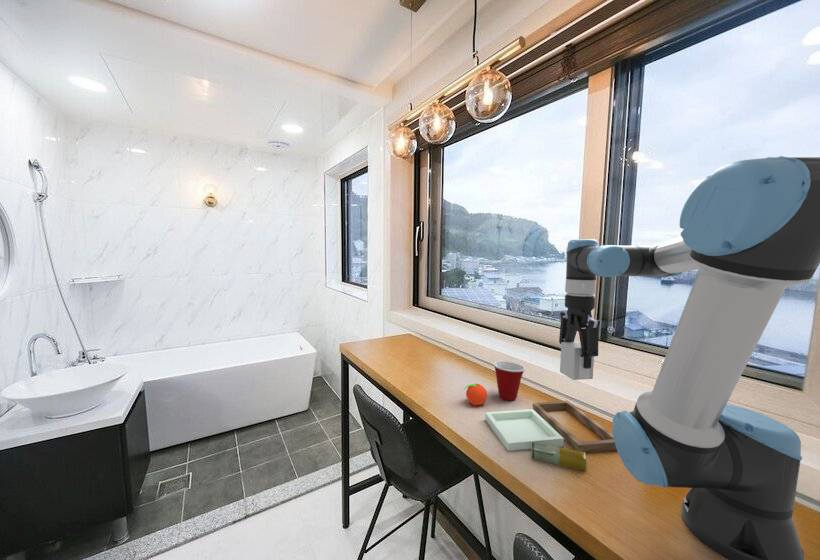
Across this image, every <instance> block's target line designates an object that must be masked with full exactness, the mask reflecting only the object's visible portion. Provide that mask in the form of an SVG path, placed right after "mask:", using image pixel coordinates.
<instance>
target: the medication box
mask: <svg viewBox="0 0 820 560" xmlns="http://www.w3.org/2000/svg"><path fill="white" fill-rule="evenodd" d="M530 454H531V458H532V459H533V460H538V461H542V462H544V463H545V462H546V463H549V464H550V463H551V464H554V465H557V466H563V467H566V468H571V469H575V470H579V471H584V472H586V470H587V455H586V453H585V452H581V451H576V450H575V449H569V448H565V447H563V448H560V447H554V446H549V445H544V444H539V443H534V442H532V450H531V453H530Z"/></svg>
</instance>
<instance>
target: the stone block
mask: <svg viewBox="0 0 820 560" xmlns="http://www.w3.org/2000/svg"><path fill="white" fill-rule="evenodd" d="M586 352H587V351H586ZM580 355H582V350H581V343H580V341H574V342H561V344H560V362H559V363H560V364H559V365H560V366H559V373H561V375H562V374H563V375H564V376H565V377H568V378H569V379H571V380H572V381H579V380H583V379H579V363H580ZM594 363H595V356H594V357H592V359H591V368H590V377H589V379H588V380H593V379H594Z"/></svg>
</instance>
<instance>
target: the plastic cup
mask: <svg viewBox="0 0 820 560" xmlns="http://www.w3.org/2000/svg"><path fill="white" fill-rule="evenodd" d="M493 367H494V371H495V376H496V383H497V385H496V386H497V389H498V397H499V398H500V399H501V400H503V401H506V402H514V401H516V400H517V398H518V393H519V389H520V386H521V380H522V378H523V374H524V372H525V371H526V367H525V366H524V365H523V364H520V363H516V362H513V361H505V360H497V361H493Z"/></svg>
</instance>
